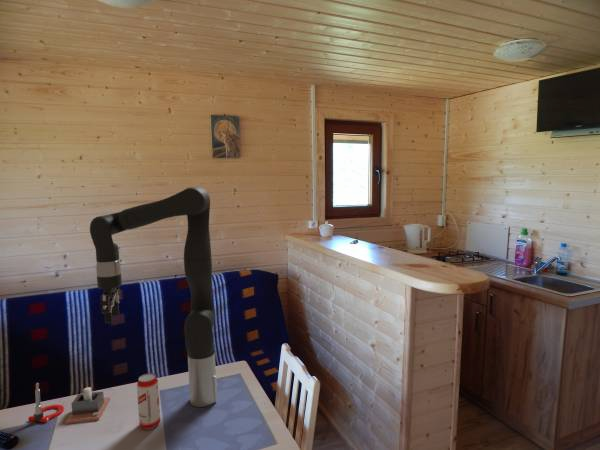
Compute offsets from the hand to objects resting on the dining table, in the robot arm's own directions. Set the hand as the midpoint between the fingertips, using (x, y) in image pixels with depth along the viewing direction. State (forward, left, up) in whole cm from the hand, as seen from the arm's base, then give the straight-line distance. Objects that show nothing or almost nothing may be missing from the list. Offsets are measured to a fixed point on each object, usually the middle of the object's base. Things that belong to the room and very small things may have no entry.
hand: (112, 318), depth 134 cm
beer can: (-14, +17, -30) cm, 37 cm away
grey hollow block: (+8, +5, -29) cm, 31 cm away
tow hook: (+21, +4, -30) cm, 37 cm away
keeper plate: (+8, +5, -30) cm, 32 cm away
